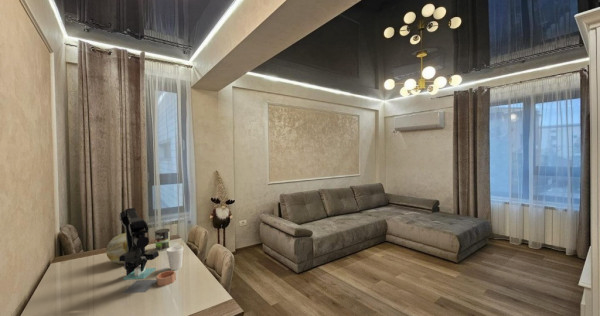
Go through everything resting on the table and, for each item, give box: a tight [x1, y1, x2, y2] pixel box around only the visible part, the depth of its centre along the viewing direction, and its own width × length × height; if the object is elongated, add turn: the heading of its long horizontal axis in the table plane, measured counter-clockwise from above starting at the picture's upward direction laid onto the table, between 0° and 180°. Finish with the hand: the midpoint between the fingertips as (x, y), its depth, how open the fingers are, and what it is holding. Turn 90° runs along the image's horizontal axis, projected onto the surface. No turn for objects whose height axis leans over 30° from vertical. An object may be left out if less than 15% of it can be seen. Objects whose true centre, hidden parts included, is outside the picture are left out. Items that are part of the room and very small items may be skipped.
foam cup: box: [166, 245, 185, 271], centre depth 159 cm, size 10×9×13 cm
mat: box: [121, 279, 157, 294], centre depth 138 cm, size 13×13×1 cm
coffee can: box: [154, 228, 171, 252], centre depth 196 cm, size 10×10×14 cm
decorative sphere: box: [105, 232, 128, 265], centre depth 172 cm, size 20×20×20 cm
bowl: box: [155, 270, 177, 287], centre depth 142 cm, size 9×9×4 cm
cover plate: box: [122, 265, 157, 281], centre depth 138 cm, size 11×11×4 cm
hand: (140, 271), depth 138 cm, fingers closed on cover plate, 2 cm apart
